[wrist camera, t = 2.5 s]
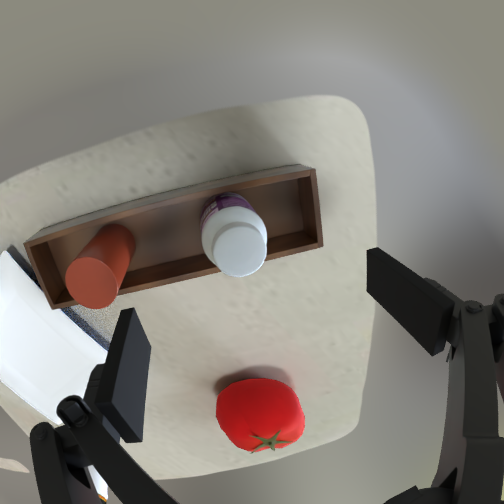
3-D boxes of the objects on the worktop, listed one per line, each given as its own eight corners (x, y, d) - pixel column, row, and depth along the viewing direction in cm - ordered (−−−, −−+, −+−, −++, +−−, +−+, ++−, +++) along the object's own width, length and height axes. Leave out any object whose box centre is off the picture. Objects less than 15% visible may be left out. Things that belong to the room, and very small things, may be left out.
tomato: (230, 354, 38) (243, 414, 28) (307, 372, 42) (332, 423, 32) (199, 405, 41) (205, 461, 31) (271, 417, 45) (287, 466, 35)
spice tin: (108, 214, 28) (79, 245, 20) (143, 240, 30) (127, 279, 22) (88, 249, 29) (57, 288, 21) (122, 272, 31) (102, 318, 22)
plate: (60, 417, 38) (57, 426, 36) (-38, 330, 29) (-44, 338, 27) (137, 364, 36) (135, 375, 34) (12, 243, 27) (3, 249, 25)
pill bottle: (201, 189, 29) (205, 213, 20) (254, 192, 30) (281, 218, 21) (198, 241, 31) (201, 285, 22) (248, 243, 32) (271, 286, 23)
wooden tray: (299, 163, 30) (315, 168, 26) (308, 233, 33) (323, 246, 29) (40, 229, 27) (23, 243, 23) (64, 290, 30) (51, 310, 26)
